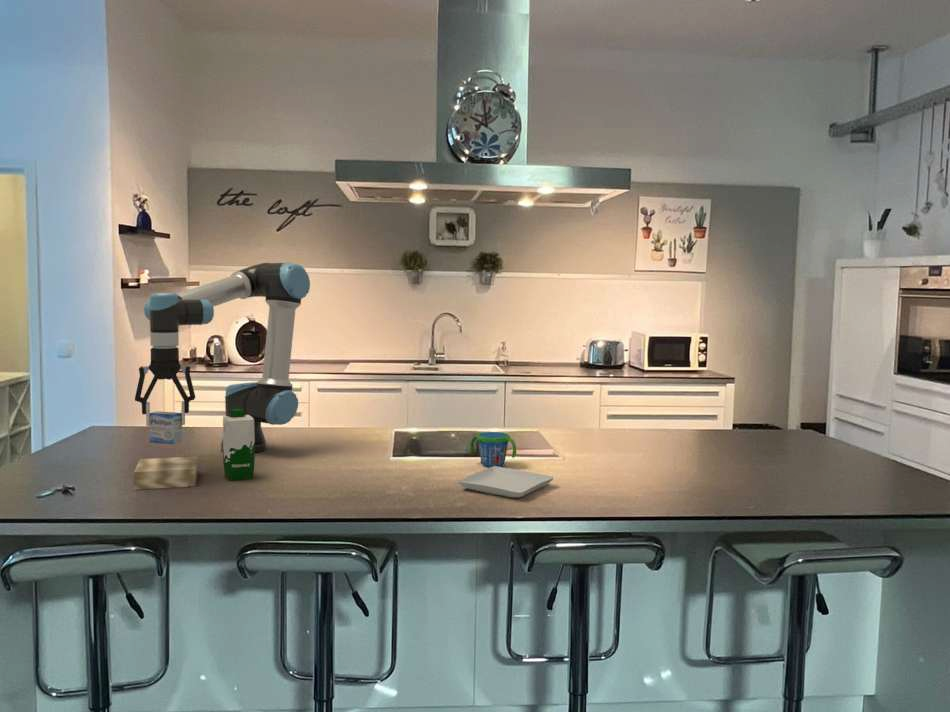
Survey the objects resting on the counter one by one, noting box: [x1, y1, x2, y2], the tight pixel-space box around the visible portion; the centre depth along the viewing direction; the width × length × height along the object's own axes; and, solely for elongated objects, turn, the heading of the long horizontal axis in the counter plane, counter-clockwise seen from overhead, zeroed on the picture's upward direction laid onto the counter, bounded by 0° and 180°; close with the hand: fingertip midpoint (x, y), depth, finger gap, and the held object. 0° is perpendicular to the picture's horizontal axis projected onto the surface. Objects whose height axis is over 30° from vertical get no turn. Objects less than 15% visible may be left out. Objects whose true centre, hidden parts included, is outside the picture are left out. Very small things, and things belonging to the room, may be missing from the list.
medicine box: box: [148, 410, 183, 445], centre depth 225 cm, size 8×4×9 cm, turn 79°
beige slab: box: [133, 456, 198, 491], centre depth 226 cm, size 16×16×5 cm
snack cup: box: [469, 431, 517, 468], centre depth 253 cm, size 16×10×10 cm
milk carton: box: [222, 409, 256, 481], centre depth 232 cm, size 9×9×20 cm
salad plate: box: [457, 466, 554, 499], centre depth 226 cm, size 21×21×3 cm
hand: (165, 424), depth 225 cm, fingers closed on medicine box, 9 cm apart
